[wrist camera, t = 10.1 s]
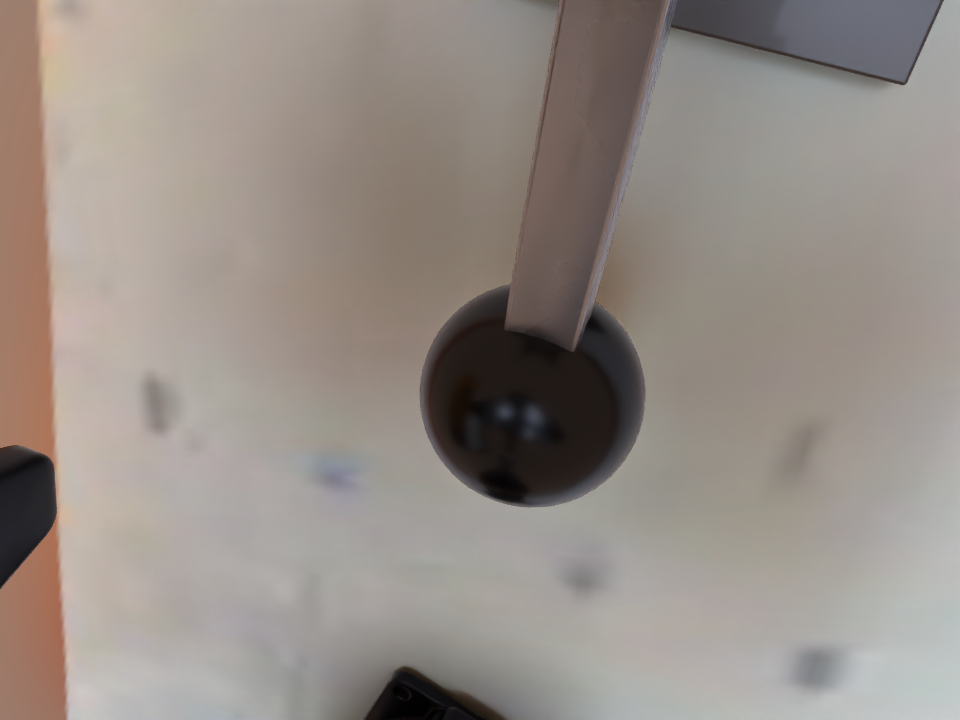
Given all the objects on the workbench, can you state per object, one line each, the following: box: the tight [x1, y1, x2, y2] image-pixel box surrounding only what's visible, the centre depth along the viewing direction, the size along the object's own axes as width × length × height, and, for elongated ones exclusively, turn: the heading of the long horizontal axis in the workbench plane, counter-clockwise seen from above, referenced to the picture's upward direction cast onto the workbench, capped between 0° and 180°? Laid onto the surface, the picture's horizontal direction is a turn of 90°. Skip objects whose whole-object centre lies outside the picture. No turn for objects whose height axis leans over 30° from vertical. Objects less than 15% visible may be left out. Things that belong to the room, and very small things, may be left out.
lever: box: [420, 0, 678, 507], centre depth 9 cm, size 15×4×4 cm, turn 167°
